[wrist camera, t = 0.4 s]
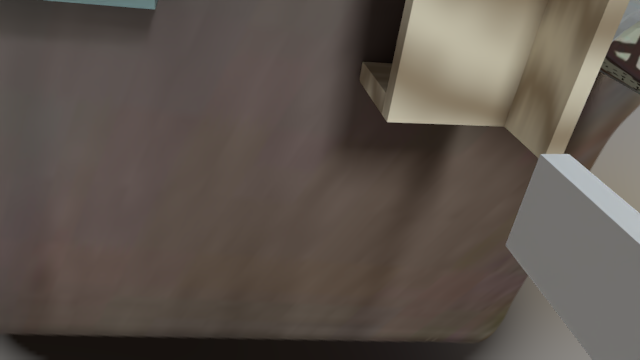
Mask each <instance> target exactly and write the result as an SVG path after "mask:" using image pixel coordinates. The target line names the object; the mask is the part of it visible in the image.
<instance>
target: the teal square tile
mask: <svg viewBox="0 0 640 360" xmlns="http://www.w3.org/2000/svg"><path fill="white" fill-rule="evenodd" d="M45 1H57V2H70V3H82V4H94V5H107V6H119V7H131V8H143V9H156V5H157V2H158V0H45Z"/></svg>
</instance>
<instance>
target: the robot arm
mask: <svg viewBox="0 0 640 360" xmlns="http://www.w3.org/2000/svg"><path fill="white" fill-rule="evenodd" d="M506 247H507V248H508V249H509V251H510V252H511V253H512V255H513V256H514V257H515V259H516V260H517V261H518V262H519V264H520V265H521V266H522V268H523V269H524V270H525V272H526V273H527V274H528V276H529V277H530V278H531V280H532V281H533V282H534V284H535V285H536V286H537V287H538V289H539V290H540V291H541V293H542V294H543V295H544V297H545V298H546V299H547V300H548V302H549V303H550V305H551V306H552V307H553V309H554V310H555V311H556V313H557V314H558V315H559V316H560V318H561V319H562V320H563V322H564V323H565V324H566V326H567V327H568V328H569V330H570V331H571V332H572V334H573V335H574V336H575V337H576V339H577V340H578V341H579V343H580V344H581V345H582V347H583V348H584V349H585V351H586V352H587V353H588V355H589V356H590V357H591V358H592V360H640V213H639V212H637V211H636V210H635V209H634V208H633V207H632V206H630V205H629V204H628V203H627V202H625V201H624V200H623V199H622V198H621V197H620V196H618V195H617V194H616V193H615V192H614V191H612V190H611V189H610V188H609V187H608V186H606V185H605V184H604V183H603V182H602V181H600V180H599V179H598V178H597V177H596V176H595V175H593V174H592V173H591V172H590V171H589V170H587V169H586V168H585V167H584V166H583V165H581V164H580V163H579V162H578V161H577V160H575V159H574V158H573V157H572V156H571V155H569V154H540V156H539V159H538V162H537V164H536V167H535V170H534V172H533V175H532V177H531V180H530V183H529V185H528V188H527V190H526V193H525V196H524V198H523V201H522V204H521V206H520V209H519V211H518V214H517V217H516V219H515V222H514V224H513V227H512V230H511V232H510V235H509V238H508V240H507V243H506Z"/></svg>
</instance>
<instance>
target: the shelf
mask: <svg viewBox="0 0 640 360" xmlns="http://www.w3.org/2000/svg"><path fill="white" fill-rule="evenodd" d="M629 1H630V0H406V1H405V6H404V11H403V15H402V20H401V25H400V30H399V34H398V39H397V44H396V49H395V53H394V58H393V63H377V62H362V67H361V73H360V79H359V81H360V83H361V84H362V86H363V87H364V89H365V90H366V91H367V93H368V94H369V96H370V97H371V99H372V100H373V102H374V103H375V105H376V106H377V108H378V109H379V111H380V112H381V114H382V115H383V117H384V118H385V120H386V121H387V122H396V123H423V124H450V125H477V126H504V127H505V128H506V129H507V130H508V131H510V132H511V133H512V134H513V135H514V136H515V137H516V138H517V139H518V140H519V141H520V142H521V143H523V144H524V145H525V146H526V147H527V148H528V149H529V150H530V151H531V152H532V153H533V154H534V155H536V156H537V157H538V158H539V156H540V154H563V153H564V151H565V149H566V146H567V144H568V142H569V140H570V137H571V135H572V133H573V130H574V128H575V126H576V123H577V121H578V119H579V116H580V114H581V112H582V110H583V107H584V105H585V103H586V100H587V98H588V96H589V93H590V91H591V89H592V86H593V84H594V82H595V80H596V77H597V75H598V73H599V70H600V68H601V66H602V63H603V61H604V59H605V56H606V54H607V52H608V50H609V47H610V45H611V43H612V40H613V38H614V36H615V33H616V31H617V29H618V26H619V24H620V22H621V19H622V17H623V15H624V13H625V10H626V8H627V6H628V3H629Z"/></svg>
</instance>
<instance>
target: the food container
mask: <svg viewBox="0 0 640 360" xmlns="http://www.w3.org/2000/svg"><path fill="white" fill-rule="evenodd" d="M599 71H600V72H602V73H603V74H605V75H607V76H609V77H610V78H612V79H614V80H616V81H617V82H619V83H621V84H623V85H624V86H626V87H628V88H629V89H631V90H633V91H635V92H636V93H638V94H640V0H630V1H629V3H628V6H627V8H626V10H625V13H624V15H623V17H622V19H621V22H620V24H619V26H618V29H617V31H616V33H615V36H614V38H613V40H612V43H611V45H610V47H609V50H608V52H607V54H606V56H605V59H604V61H603V63H602V66H601V68H600V70H599Z"/></svg>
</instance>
